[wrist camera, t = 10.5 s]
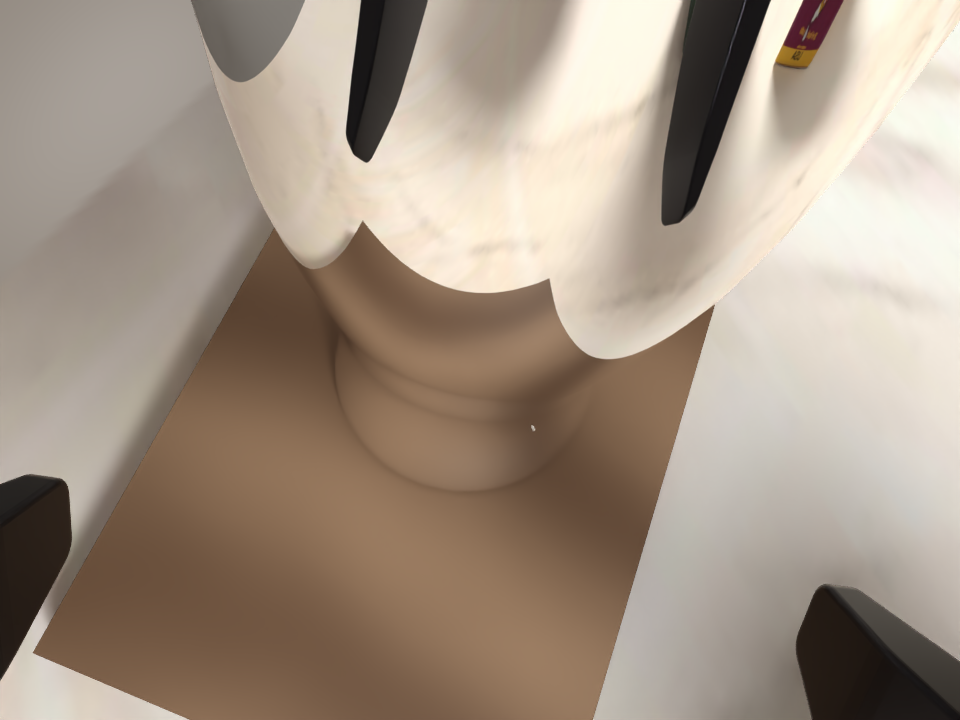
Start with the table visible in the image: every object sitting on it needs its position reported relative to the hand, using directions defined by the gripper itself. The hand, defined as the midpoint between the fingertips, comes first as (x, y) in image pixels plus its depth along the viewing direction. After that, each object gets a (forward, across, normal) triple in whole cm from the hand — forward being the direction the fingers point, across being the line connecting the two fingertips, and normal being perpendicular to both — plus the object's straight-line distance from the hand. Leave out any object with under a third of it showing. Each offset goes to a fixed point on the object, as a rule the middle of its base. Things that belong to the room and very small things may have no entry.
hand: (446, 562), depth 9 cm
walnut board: (+9, 0, +3) cm, 10 cm away
